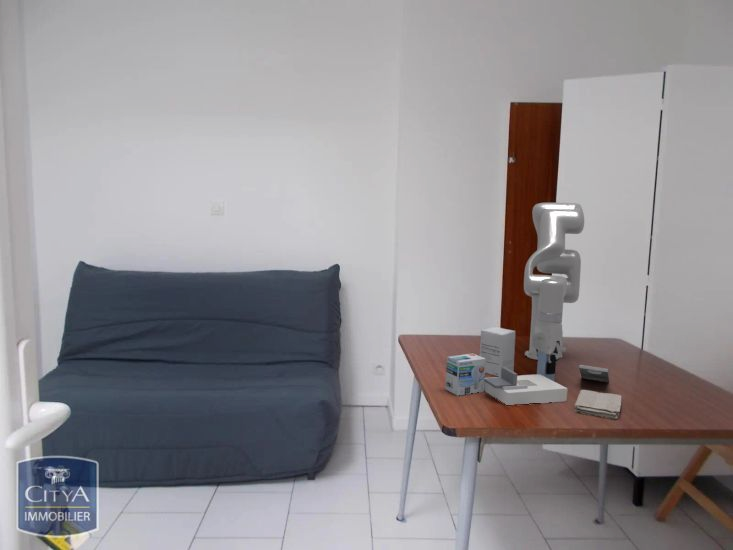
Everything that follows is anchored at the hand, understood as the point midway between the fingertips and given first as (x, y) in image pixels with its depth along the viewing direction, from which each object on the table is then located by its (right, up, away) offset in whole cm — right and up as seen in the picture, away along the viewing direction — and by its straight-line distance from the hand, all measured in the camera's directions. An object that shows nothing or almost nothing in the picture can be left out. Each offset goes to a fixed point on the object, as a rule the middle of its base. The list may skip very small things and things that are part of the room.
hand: (546, 371), depth 173 cm
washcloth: (+9, -8, -19) cm, 22 cm away
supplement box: (-13, -3, +13) cm, 19 cm away
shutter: (-19, -1, -14) cm, 24 cm away
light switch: (+16, -5, +1) cm, 17 cm away
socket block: (-11, -5, -11) cm, 17 cm away
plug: (0, -3, 0) cm, 3 cm away
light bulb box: (-28, -5, -8) cm, 30 cm away
